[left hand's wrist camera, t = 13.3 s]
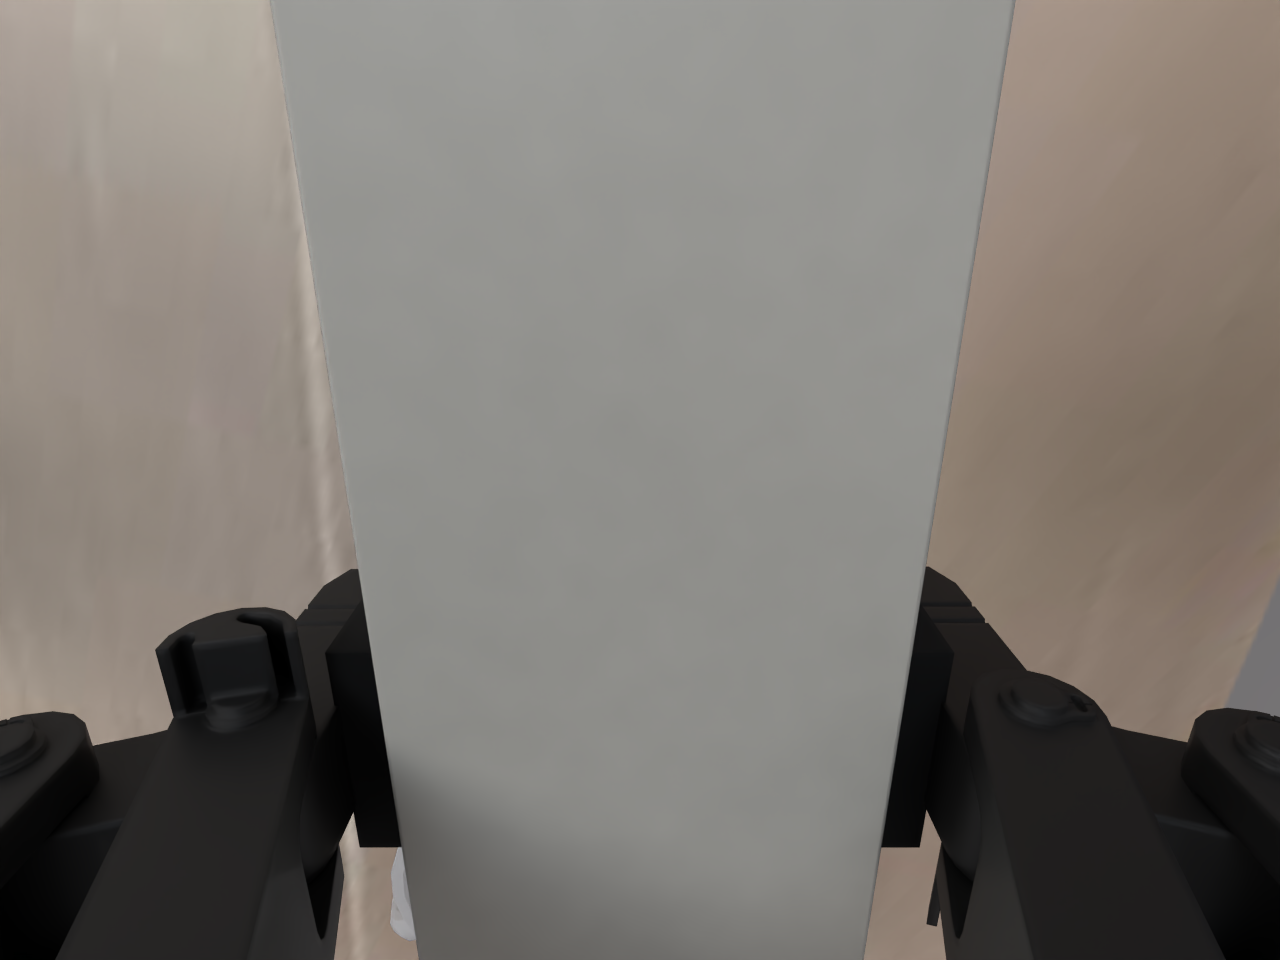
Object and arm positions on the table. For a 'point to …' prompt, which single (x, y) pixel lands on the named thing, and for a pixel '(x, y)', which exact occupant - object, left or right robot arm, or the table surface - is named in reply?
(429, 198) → the bar
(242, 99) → the table surface
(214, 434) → the table surface
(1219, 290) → the table surface
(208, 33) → the table surface
